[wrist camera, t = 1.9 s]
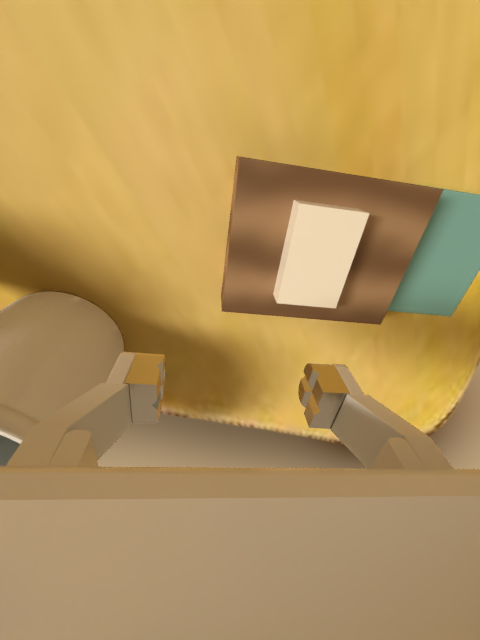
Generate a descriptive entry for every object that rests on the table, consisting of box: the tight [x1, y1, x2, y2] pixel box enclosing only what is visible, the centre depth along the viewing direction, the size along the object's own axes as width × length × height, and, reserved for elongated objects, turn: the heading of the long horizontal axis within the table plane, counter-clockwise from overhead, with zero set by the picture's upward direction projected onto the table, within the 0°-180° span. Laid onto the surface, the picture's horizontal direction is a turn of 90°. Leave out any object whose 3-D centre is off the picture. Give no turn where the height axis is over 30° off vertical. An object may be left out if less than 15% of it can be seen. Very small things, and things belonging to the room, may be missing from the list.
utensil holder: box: [0, 291, 124, 466], centre depth 26 cm, size 15×15×18 cm
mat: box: [387, 185, 480, 316], centre depth 32 cm, size 14×12×1 cm
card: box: [273, 200, 370, 309], centre depth 26 cm, size 9×6×2 cm, turn 172°
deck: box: [221, 156, 444, 324], centre depth 28 cm, size 14×18×4 cm
